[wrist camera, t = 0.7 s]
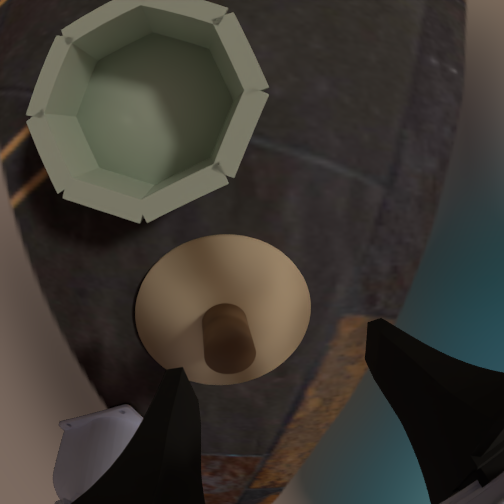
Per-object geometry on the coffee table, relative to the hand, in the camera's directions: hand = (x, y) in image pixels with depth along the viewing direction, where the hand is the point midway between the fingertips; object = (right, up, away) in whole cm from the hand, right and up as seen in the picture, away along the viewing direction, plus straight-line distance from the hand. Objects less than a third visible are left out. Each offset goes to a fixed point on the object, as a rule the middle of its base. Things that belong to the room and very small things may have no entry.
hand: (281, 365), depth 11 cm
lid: (-3, 0, +10) cm, 10 cm away
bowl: (-6, +12, +4) cm, 14 cm away
